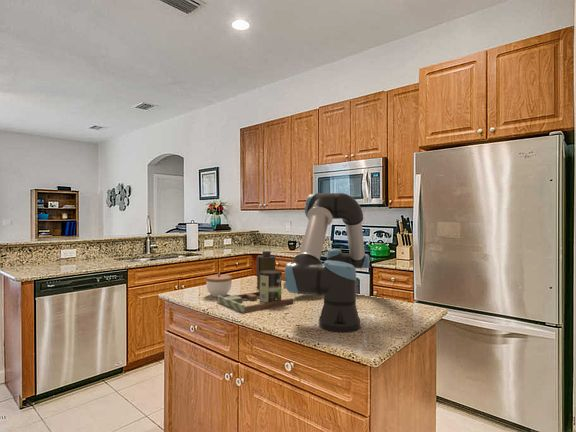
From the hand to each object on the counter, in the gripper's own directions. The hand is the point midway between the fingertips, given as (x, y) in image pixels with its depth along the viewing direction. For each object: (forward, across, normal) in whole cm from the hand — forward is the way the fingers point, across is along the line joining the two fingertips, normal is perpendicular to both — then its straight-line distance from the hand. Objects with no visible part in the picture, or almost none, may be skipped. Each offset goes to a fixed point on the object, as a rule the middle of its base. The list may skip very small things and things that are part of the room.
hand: (284, 285), depth 172 cm
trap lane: (+14, +2, -6) cm, 16 cm away
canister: (-8, +27, -7) cm, 29 cm away
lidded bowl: (+21, +26, -7) cm, 34 cm away
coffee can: (+8, 0, -7) cm, 11 cm away
